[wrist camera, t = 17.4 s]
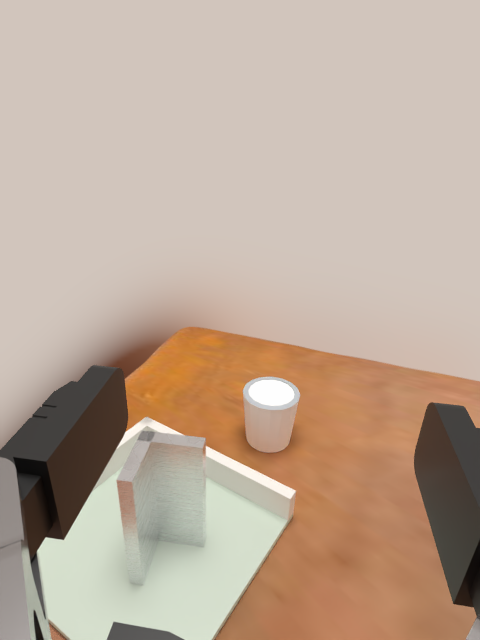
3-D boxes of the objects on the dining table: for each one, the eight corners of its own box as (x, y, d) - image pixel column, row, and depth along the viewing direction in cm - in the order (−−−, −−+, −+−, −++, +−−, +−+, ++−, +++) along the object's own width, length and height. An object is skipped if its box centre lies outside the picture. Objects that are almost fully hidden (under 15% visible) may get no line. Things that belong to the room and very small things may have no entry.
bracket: (150, 527, 42) (141, 430, 36) (206, 536, 41) (205, 437, 36) (129, 583, 37) (116, 479, 31) (192, 593, 36) (189, 489, 31)
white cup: (243, 417, 58) (245, 374, 55) (294, 421, 58) (298, 377, 55) (238, 454, 52) (240, 407, 49) (296, 458, 51) (301, 411, 48)
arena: (148, 439, 54) (146, 416, 52) (292, 516, 44) (296, 490, 42) (-10, 566, 38) (-20, 539, 37) (158, 726, 29) (155, 698, 27)
